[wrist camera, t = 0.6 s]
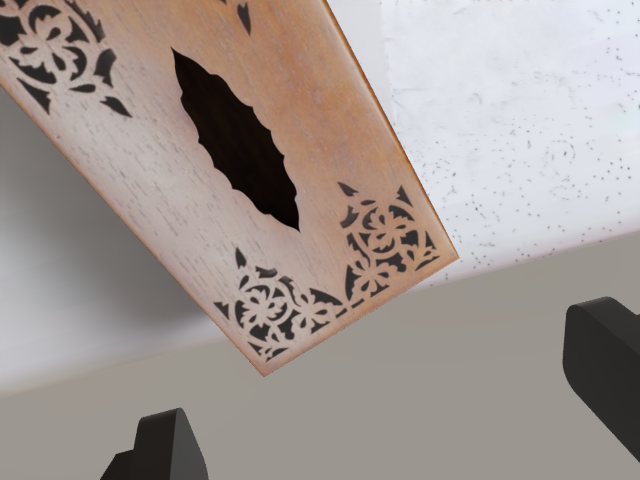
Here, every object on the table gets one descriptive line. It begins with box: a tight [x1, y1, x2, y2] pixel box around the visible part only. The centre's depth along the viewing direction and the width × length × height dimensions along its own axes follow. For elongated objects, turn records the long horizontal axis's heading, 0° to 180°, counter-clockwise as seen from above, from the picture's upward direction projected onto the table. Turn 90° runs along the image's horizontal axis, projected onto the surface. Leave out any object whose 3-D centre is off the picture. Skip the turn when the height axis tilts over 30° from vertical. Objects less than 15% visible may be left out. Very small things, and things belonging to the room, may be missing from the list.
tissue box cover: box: [0, 0, 459, 377], centre depth 29 cm, size 26×14×10 cm, turn 31°
